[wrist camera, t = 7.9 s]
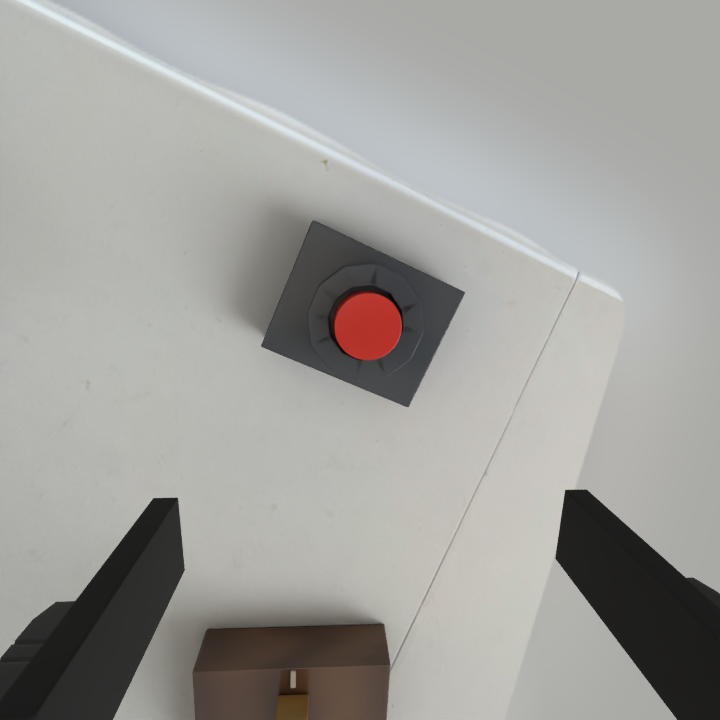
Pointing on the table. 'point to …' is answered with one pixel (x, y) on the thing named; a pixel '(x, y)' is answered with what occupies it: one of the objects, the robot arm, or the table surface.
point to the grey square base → (338, 281)
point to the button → (367, 325)
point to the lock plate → (293, 672)
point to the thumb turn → (292, 707)
